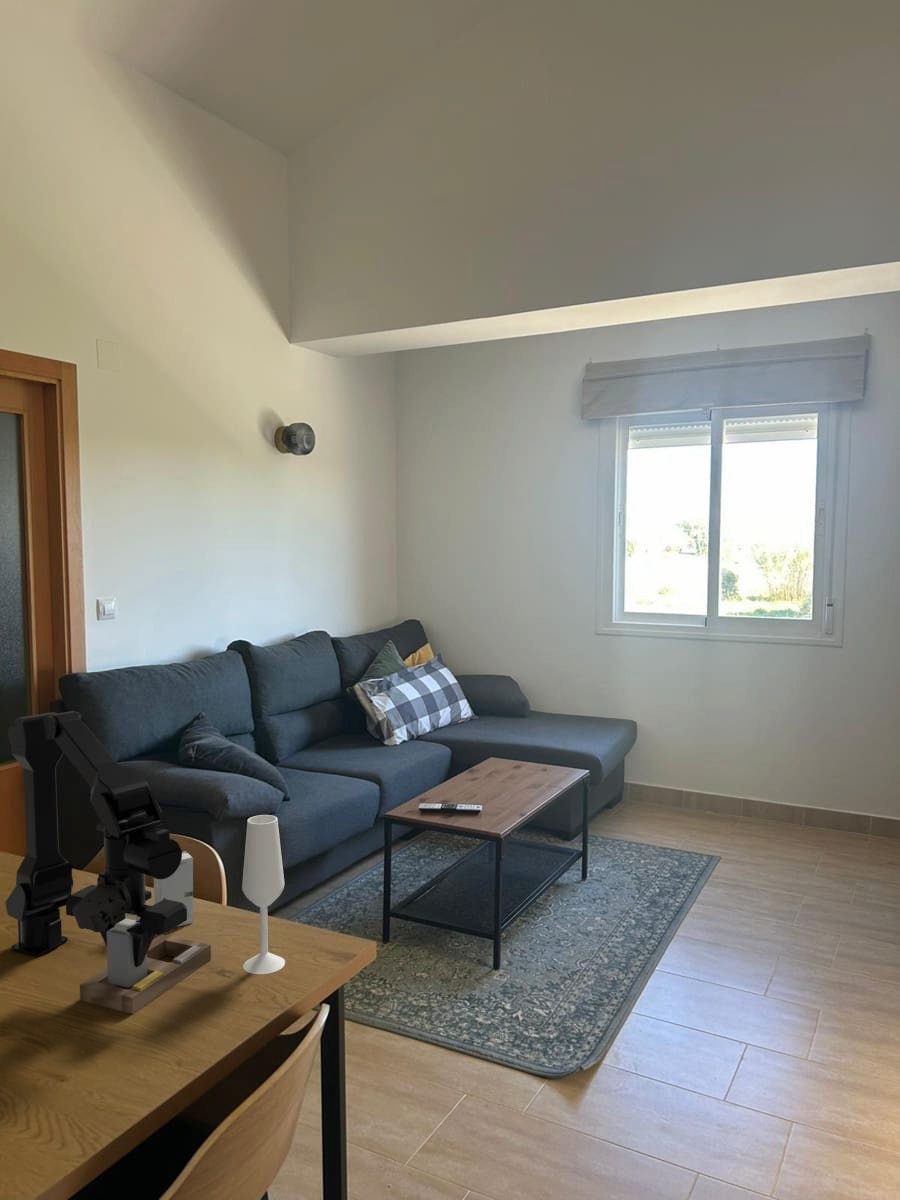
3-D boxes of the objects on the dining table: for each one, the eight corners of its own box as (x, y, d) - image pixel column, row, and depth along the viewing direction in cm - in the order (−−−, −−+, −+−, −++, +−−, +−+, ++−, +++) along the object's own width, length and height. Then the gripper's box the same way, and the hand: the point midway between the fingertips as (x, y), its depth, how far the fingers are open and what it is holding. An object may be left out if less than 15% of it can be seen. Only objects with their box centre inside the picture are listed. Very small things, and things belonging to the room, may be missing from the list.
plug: (107, 982, 132) (106, 926, 132) (126, 970, 136) (125, 915, 135) (128, 987, 131) (127, 930, 130) (147, 975, 134) (146, 919, 134)
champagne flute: (293, 963, 143) (292, 818, 141) (260, 978, 138) (258, 829, 136) (267, 950, 147) (265, 810, 145) (234, 965, 142) (232, 820, 140)
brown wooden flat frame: (80, 1000, 131) (79, 981, 131) (162, 948, 148) (161, 932, 147) (132, 1014, 127) (132, 994, 127) (211, 959, 144) (210, 942, 144)
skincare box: (160, 931, 154) (158, 864, 153) (153, 922, 158) (151, 856, 157) (194, 923, 158) (193, 857, 157) (187, 914, 161) (186, 849, 161)
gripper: (35, 872, 128) (38, 975, 129) (135, 892, 121) (138, 1001, 122) (92, 847, 138) (95, 943, 139) (188, 864, 131) (190, 965, 132)
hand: (127, 963), depth 133 cm, fingers closed on plug, 4 cm apart
